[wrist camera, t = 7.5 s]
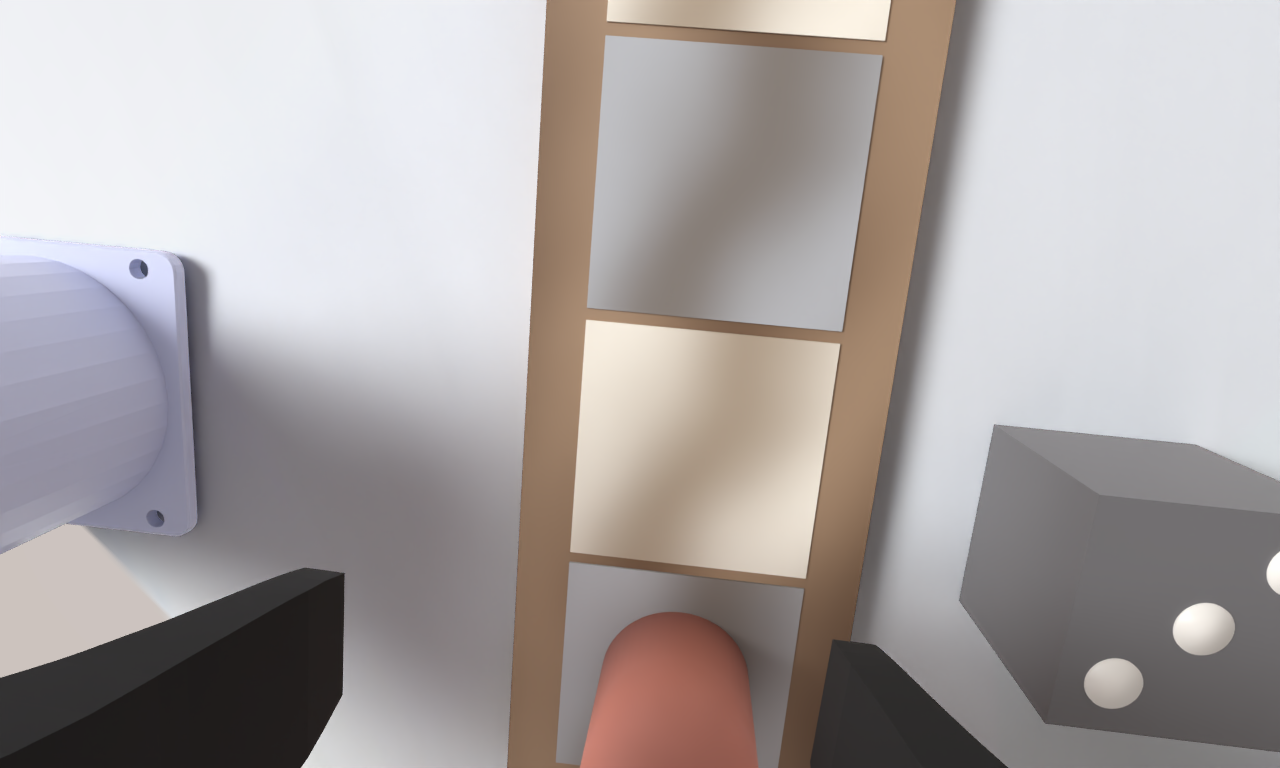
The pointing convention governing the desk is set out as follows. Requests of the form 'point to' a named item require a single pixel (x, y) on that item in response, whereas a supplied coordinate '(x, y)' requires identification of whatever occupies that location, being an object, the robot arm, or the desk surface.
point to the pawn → (672, 698)
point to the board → (713, 336)
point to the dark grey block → (1131, 585)
